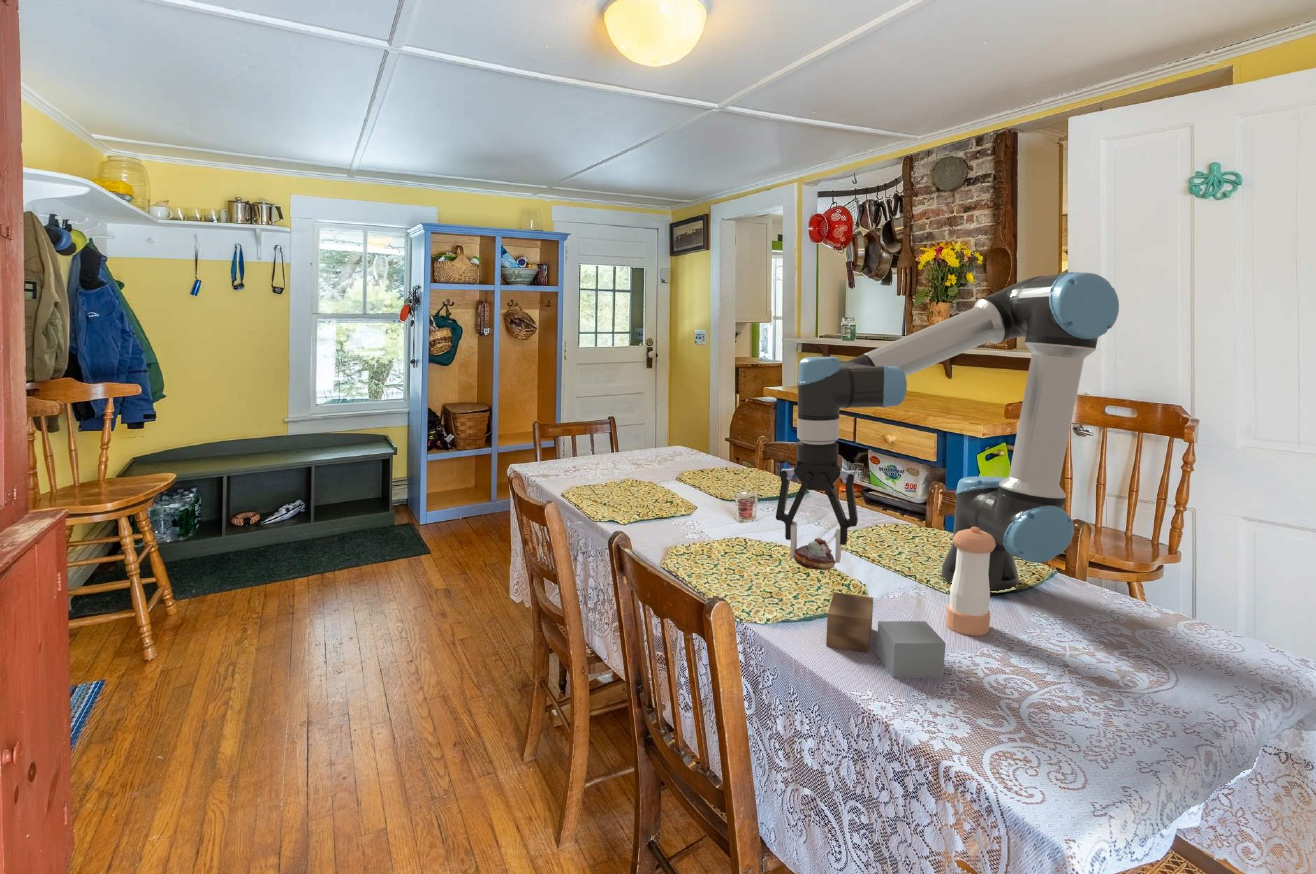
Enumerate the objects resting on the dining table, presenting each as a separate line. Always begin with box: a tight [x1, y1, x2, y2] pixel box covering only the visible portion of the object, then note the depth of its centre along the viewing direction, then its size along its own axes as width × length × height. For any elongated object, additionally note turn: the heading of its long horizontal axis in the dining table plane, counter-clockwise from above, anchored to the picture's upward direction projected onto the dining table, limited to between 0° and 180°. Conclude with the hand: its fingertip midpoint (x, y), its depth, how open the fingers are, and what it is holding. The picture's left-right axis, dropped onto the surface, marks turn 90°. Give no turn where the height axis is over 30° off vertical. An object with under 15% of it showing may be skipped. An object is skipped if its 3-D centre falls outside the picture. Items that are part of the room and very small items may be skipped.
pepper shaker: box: [945, 527, 996, 637], centre depth 124 cm, size 7×7×19 cm
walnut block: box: [825, 591, 874, 654], centre depth 121 cm, size 7×10×6 cm
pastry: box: [793, 537, 836, 571], centre depth 128 cm, size 8×8×5 cm
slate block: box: [875, 620, 947, 679], centre depth 111 cm, size 8×8×6 cm
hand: (815, 558), depth 130 cm, fingers closed on pastry, 8 cm apart
